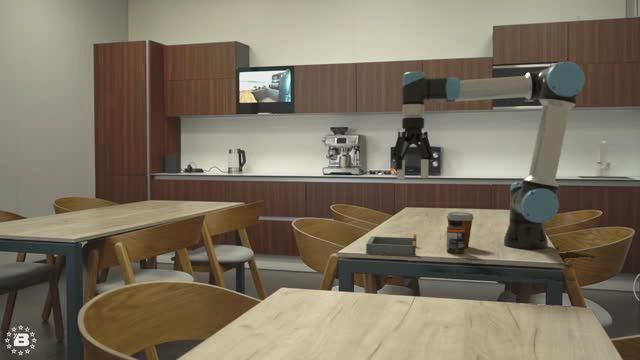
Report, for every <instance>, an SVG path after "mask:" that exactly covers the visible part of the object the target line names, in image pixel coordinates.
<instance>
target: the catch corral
mask: <svg viewBox="0 0 640 360" xmlns="http://www.w3.org/2000/svg"><path fill="white" fill-rule="evenodd" d="M416 249H417V233H413V237H399V236H397V237H396V236H395V237H394V236H372V235H371V236H370V237H369V239H368V241H367V242H366V245H365V253H366V254H378V253H385V254H384V255H403V256H404V255H405V256H407V255H409V256H416Z"/></svg>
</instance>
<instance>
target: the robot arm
mask: <svg viewBox="0 0 640 360" xmlns="http://www.w3.org/2000/svg"><path fill="white" fill-rule="evenodd" d="M585 82H586V78H585V73H584V71H583V69H582V68H581V67H580V65H578V64H576V63H574V62H572V61H559V62H556V63H554V64H552V65H551V66H550V67H547V68H545V69H542V70H538V71H533V72H527V73H526V74H525V75H521V76H520V75H518V76H505V77H489V78H477V79H475V78H474V79H463V80H460V79H459V78H458V77H451V76H450V77H426V76H425V73H424V72H423V71H409V72H405V73H404V74H403V76H402V83H401V84H402V96H401V97H402V123H401V124H402V125H401V127H402V129H403V130H399V131H398V132H397V139H396V142H395V145H394V148H393V152H392V154H391V155H392V156H391V158H392V159H393V160H394V161H396V180H406V179H405V178H406V177H405V176H406V174H405V173H406V171H405V170H406V169H405V168H406V167H405V166H406V165H405V164H406V161H405V160H404V158H405V157H406V155H407V153H408V150H409V149H410V147H411V146H413V145H414V146H415V147H416V149H417V150H418V152H419V154H420V156H421V158H422V159H420V178H421V179H429V168H430V160H432V159H433V157H434V155H433V150H432V148H431V143H430V140H429V136H428V134H429V133H428V131H422V129H424V128H425V118H424V117H425V101H432V102H433V103H435V104H443V103H453V102H467V101H468V102H469V101H484V100H499V99H513V98H514V99H515V98H526V99H527V100H528V101H529V100H538V101H539V103H540V104H541V106H542V108H541V113H540V118H539V123H538V128H537V133H536V138H535V142H534V148H533V153H532V159H531V162H530V163H531V164H530V167H529V173H528V175H527V176H525V178H523V179H522V181H520V182H519V181H518V182H517V181H516V182H513V183H511V185H510V190H509V223H508V224H509V225H508V227H507V229H506V232H505V235H504V238H503V245H504V246H506V247H510V248H516V249H528V250H529V249H530V250H534V249H535V250H536V249H540V250H541V249H546V248H548V247H549V245H548V242H549V240H548V237H547V235H546V234H547V233H546V231H545V230H546V229H545V228H544V223H547V222H549V221H550V220H552V219H553V218H554V217H555V216H556V214H558V212H559V208H560V204H559V203H560V202H559V198H558V192H559V187H560V186H559V184H558V182H557V181H556V179H557V178H556V177H557V173H558V169H559V164H560V159H561V155H562V149H563V145H564V139H565V134H566V129H567V125H568V120H569V115H570V111H571V110H572V108H575V106H576V104H577V102H578V101H577V100H578V96H579V93H580V92H581V91H582V89H583V88H584V85H585Z"/></svg>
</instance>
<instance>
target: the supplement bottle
mask: <svg viewBox="0 0 640 360" xmlns="http://www.w3.org/2000/svg"><path fill="white" fill-rule="evenodd" d="M465 249H466V248H465V227H464V226H463V225H462V220H461V219H450V225H449V226H447V227H446V252H447V253H448V254H454V255H462V254H465Z"/></svg>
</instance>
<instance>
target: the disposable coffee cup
mask: <svg viewBox="0 0 640 360" xmlns="http://www.w3.org/2000/svg"><path fill="white" fill-rule="evenodd" d="M446 215H447V216H446V219H447V224H448V226H449V225H450V219H461V220H462V225H463V226H464V227H465V249H467V248H469V246H470V238H471V231H472V224H473V221H474V218H475V217H474V215H473V213H471V212H464V211H463V212H462V211H460V212H459V211H454V212H453V211H451V212H447V214H446ZM448 226H447V227H448Z"/></svg>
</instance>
